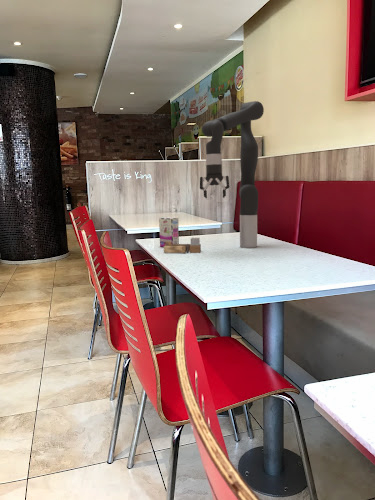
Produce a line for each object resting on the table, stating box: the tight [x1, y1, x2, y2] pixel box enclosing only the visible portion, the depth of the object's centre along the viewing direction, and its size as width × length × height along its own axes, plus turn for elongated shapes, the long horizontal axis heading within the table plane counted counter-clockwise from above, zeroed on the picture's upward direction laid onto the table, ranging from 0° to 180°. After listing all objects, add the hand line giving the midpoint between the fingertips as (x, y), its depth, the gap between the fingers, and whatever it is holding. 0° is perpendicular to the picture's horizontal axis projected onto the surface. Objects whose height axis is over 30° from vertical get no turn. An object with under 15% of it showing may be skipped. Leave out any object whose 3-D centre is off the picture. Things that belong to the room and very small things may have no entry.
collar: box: [190, 237, 201, 246], centre depth 217 cm, size 4×4×4 cm
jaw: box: [163, 246, 187, 254], centre depth 216 cm, size 11×3×3 cm, turn 82°
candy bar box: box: [158, 217, 180, 249], centre depth 234 cm, size 11×5×16 cm, turn 42°
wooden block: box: [166, 243, 202, 254], centre depth 218 cm, size 7×18×4 cm, turn 82°
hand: (214, 198), depth 208 cm, fingers open, 8 cm apart
